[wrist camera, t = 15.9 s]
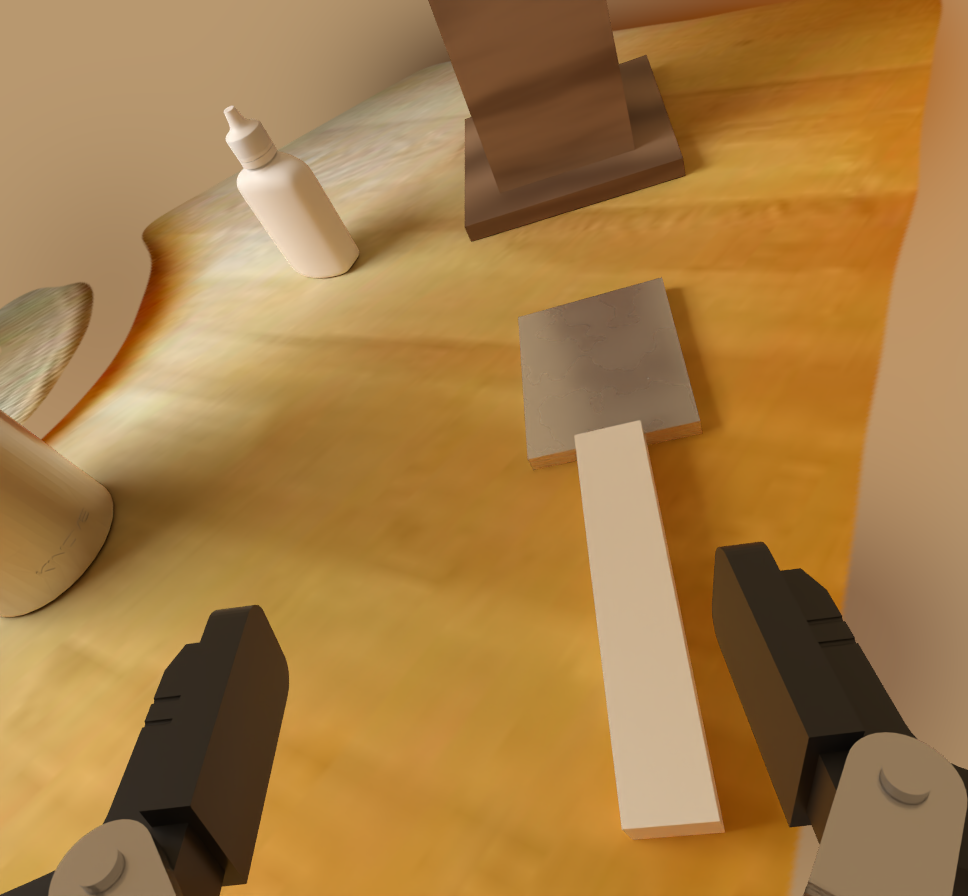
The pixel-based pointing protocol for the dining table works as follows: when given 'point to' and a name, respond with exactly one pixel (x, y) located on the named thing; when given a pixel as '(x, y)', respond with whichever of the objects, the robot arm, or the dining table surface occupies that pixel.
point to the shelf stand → (551, 110)
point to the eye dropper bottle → (289, 202)
